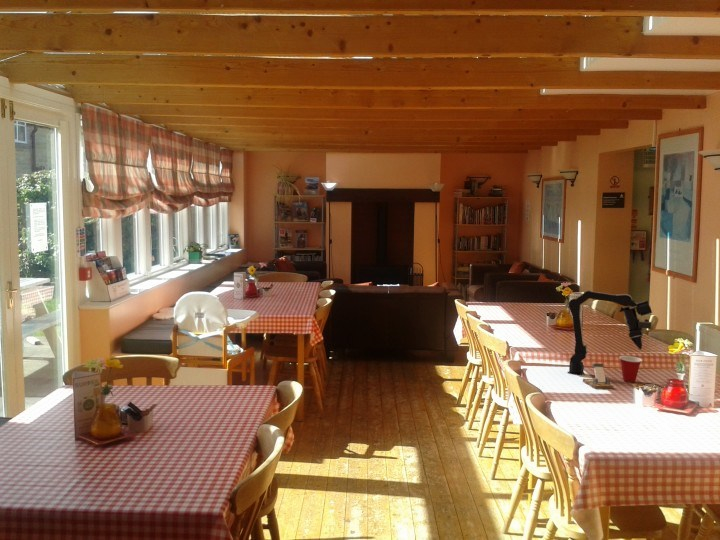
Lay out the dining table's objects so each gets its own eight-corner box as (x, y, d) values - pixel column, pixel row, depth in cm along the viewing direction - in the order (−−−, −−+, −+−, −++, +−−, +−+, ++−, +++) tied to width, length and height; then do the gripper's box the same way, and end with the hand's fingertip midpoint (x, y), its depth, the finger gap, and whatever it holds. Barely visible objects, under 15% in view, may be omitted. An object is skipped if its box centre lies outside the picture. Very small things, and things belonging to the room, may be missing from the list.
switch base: (582, 381, 357) (583, 373, 357) (600, 381, 358) (600, 373, 357) (594, 388, 342) (595, 380, 341) (613, 389, 342) (613, 380, 342)
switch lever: (595, 383, 346) (592, 365, 351) (605, 383, 346) (601, 365, 351) (597, 381, 344) (593, 363, 349) (606, 382, 345) (602, 363, 350)
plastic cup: (630, 384, 354) (631, 360, 353) (613, 379, 364) (614, 356, 363) (645, 382, 359) (647, 358, 358) (628, 378, 369) (629, 355, 368)
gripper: (647, 316, 354) (657, 346, 353) (648, 312, 372) (657, 341, 371) (624, 321, 359) (634, 352, 358) (626, 317, 376) (635, 346, 375)
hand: (640, 347), depth 365 cm, fingers open, 9 cm apart
